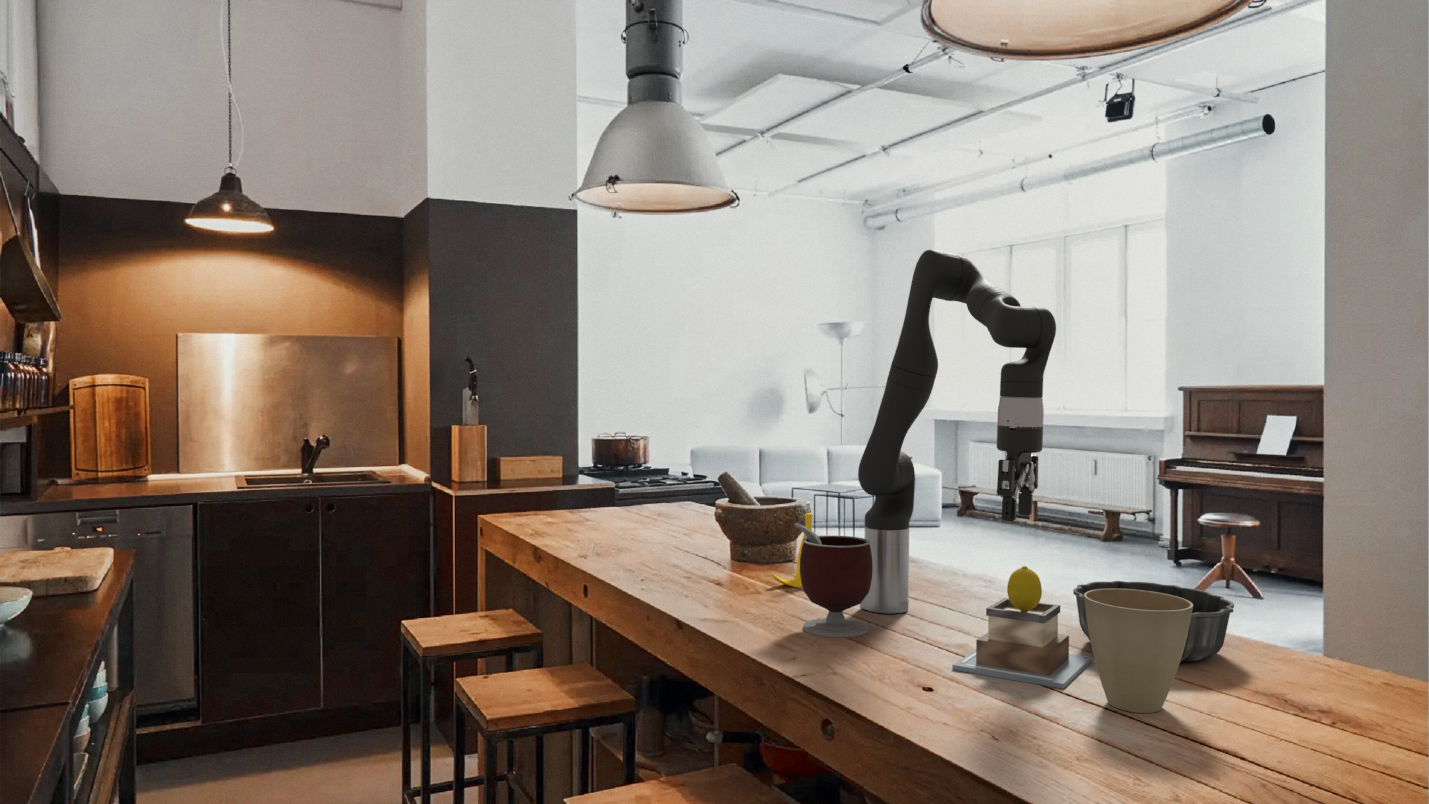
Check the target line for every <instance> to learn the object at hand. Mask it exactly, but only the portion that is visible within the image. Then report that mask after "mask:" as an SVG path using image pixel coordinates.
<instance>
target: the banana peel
mask: <svg viewBox="0 0 1429 804" xmlns="http://www.w3.org/2000/svg"><path fill="white" fill-rule="evenodd" d="M804 518H805V519H804V520H805V527H806V528H808V529H810V530H811V531H813V527H812V524H813V523H812V522H813V521H812V520H813V513H811V512H810V513H809V512H807V513H805V514H804ZM805 538H807V537H806V535H805V534H804V533H803V536H802V540H801V543H800V545H799V550H798V554H797V562H796V563H797V564H796V573H795V576H794V578H793V579H785V578H781V577H779V576H778V575H776V574H774V573H771V575H770V576H771V577H772V578H773V579H774V581H776V582H778V583H780V584H782V585H786V586H790V587H793V588H803V587H802V583H801V576H800V557H801V550H802V546H803V539H805Z"/></svg>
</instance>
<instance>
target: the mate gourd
mask: <svg viewBox="0 0 1429 804" xmlns="http://www.w3.org/2000/svg"><path fill="white" fill-rule="evenodd" d="M793 526H794V527H795V528H797V529H799V530H800V531H801V532H802V533H803V535H804V534H805V535H806V537H807V538H805V539H803V538H802V539H803V546H802V550H801V557H800V576H801V583H802V587H801V588H802V590H803V592H804V594H805V595H806V597H807V598H808V599H809V601H810V602H811V603H812V604H814V605H817V606H819V607H821V608H822V609H825V610H827V611H828V613H827V615H826V617H823V618H815V619H811V620H807V621H805V622H804V623H803V630H804V632H807V633H809V634H811V635H816V636H819V637H825V638H827V637H828V638H852V637H858V636H860V637H861V636H862V635H865V634H867V633H868V632H869V631H868V629H869V627H868V625H867V624H866V623H864V622H861V621H859V620H854V619H848V618H846V617H845V615H844V613H843V611H846V610H848V609H851V608H854V607H856V606H858V605H859V606H860V603H861V602H862V601H863V600H864V598H865V597H866V596H867V594H868V593H869V590H870V586H871V581H872V573H873V561H872V553H871V548H870V541H869V540H867V539H865V538H862V537H859V536H852V535H851V536H850V535H849V536H848V535H817V534H816V532H814V531H813V530H812V531H811V530H810V529H808V528H806V526H805V525H801V524H800V523H798V522H795V523H794V525H793Z"/></svg>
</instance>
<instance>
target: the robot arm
mask: <svg viewBox="0 0 1429 804" xmlns="http://www.w3.org/2000/svg"><path fill="white" fill-rule="evenodd" d="M907 298H908V299H907V304H906V309H905V314H904V319H903V324H902V328H901V332H900V335H899V338H898V341H897V346H896V349H895V353H894V355H893V359H892V362H891V364H890V368H889V371H888V375H887V379H886V383H885V388H884V391H883V395H882V399H881V401H880V405H879V409H878V411H877V415H876V419H875V423H874V426H873V428H872V431H871V434H870V436H869V438H868V441H867V443H866V446H865V448H864V451H863V453H862V456H861V459H860V461H859V466H858V472H857V478H858V482H859V485H860V486H861V489H862V490H863V491H864V492H865V493H866V494H867V495H870V496H873V497H874V503H873V504H872V506H871V507H870V508H869V510H868V511H866V513H865V514H864V539H867V540H869V541H870V548H871V553H872V561H873V573H872V581H871V586H870V590H869V593H868V594H867V596H866V597H865V598H864V600H863V601H862V602H861V603H860V604H859V608H860V609H862V610H866V611H869V612H872V613H878V614H901V613H906V612H908V611H909V602H910V601H909V599H910V598H909V594H910V593H909V592H910V591H909V590H910V589H909V588H910V585H909V583H910V579H909V577H910V520H911V518H912V516H913V512H914V505H915V504H914V502H915V490H916V489H915V488H916V486H915V485H916V473H915V468H914V464H913V461H912V459H911V458H910V456H909V455H908V454H907V453H905V452H904V451H902V446H903V444H904V440H905V439H906V437H907V436H906V435H907V434H908V432H909V431H910V429H911V427H912V425H913V424H914V422H915V421H916V420H917V418H918V417H919V415H920V414H921V412H922V411H923V410H924V408H925V407H926V404H927V402H928V401H929V399H930V396H931V394H932V391H933V388H934V384H935V381H936V377H937V374H938V369H939V361H938V355H937V350H936V348H935V344H934V341H933V338H932V334H931V329H930V311H931V305H932V301H933V298H934V299H938V300H942V301H947V302H959V303H963V304H965V305H966V308H967V311H968V312H969V314H970V315H971V317H972V318H973V319H975V320H976V321H977V322H978V323H980V324H982V325H983V326H984V327H986V329H987V331H988V333H989V335H990V336H991V339H992V340H993V342H995V344H997V345H998V346H1002V347H1004V348H1011V349H1013V348H1014V349H1015V348H1016V349H1025V351H1024V353H1023V355H1022V357H1021V358H1020V359H1019V360H1016V361H1010V362H1007V363H1005V364H1003V365H1002V367H1001V369H1000V382H999V383H1000V384H999V388H1000V389H999V401H998V407H997V428H996V431H997V432H996V449H997V450H998V451H1000V452H1006V457H1005V459H999V460H998V463H997V464H998V466H997V467H998V468H997V484H996V485H997V486H996V494H997V496H1000V499H1001V500H1002V501H1001V503H1002V504H1001V519H1002V521H1006V522H1014V521H1016V519H1017V513H1018V514H1019V515H1022V516H1031V515H1033V514H1032V513H1033V494H1034V493H1035V490H1037V489H1038V488H1039V456H1038V455H1036V454H1037V453H1041V452H1042V451H1043V444H1044V441H1043V440H1044V436H1043V435H1044V414H1045V413H1044V412H1045V411H1044V403H1043V402H1044V400H1043V399H1044V398H1043V396H1044V395H1043V394H1044V393H1043V391H1044V374H1045V371H1046V367H1047V363H1048V360H1049V356H1050V353H1051V350H1052V348H1053V344H1054V341H1055V338H1056V333H1057V323H1056V319H1055V317H1054V315H1053V313H1052V312H1051V311H1050V310H1049V309H1048V308H1045V307H1041V306H1039V307H1038V306H1021V303H1020V302H1019V300H1018V299H1017V298H1016V297H1014V296H1013V295H1012V294H1010V293H1008V292H1007V291H1005V290H1004V289H1002V288H1000V287H998V286H997V285H995V284H993V283H992V282H991V281H990V280H989V279H988V278H987V277H986V276H985V275H984V274H983V273H982V272H981V270H979V268H978V267H977V266H976V265H975V264H974V263H973V262H972V261H971V259H968V258H967V257H964V256H961V255H959V254H954V253H950V252H946V251H942V250H937V249H932V248H931V249H926V250H924V251H923V253H921V255H920V256H919V258H918V260H917V262H916V265H915V268H914V271H913V275H912V279H911V285H910V289H909V294H908V297H907ZM1032 453H1033V454H1032ZM1034 453H1035V454H1034ZM1017 498H1018V502H1017ZM1017 503H1018V504H1017ZM1017 505H1018V506H1017Z"/></svg>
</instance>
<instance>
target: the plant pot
mask: <svg viewBox="0 0 1429 804" xmlns="http://www.w3.org/2000/svg"><path fill="white" fill-rule="evenodd" d="M1084 600H1085V608H1086V616H1087V624H1088V630H1089V636H1090V640H1089V642H1090V641H1091V642H1090V644H1091V649H1092V654H1093V657H1094V662H1095V666H1096V669H1097V673H1098V676H1099V680H1100V682H1101V685H1102V689H1103V691H1104V695H1105V698H1106V701H1107V702H1108V704H1109V705H1110V706H1112V707H1114V708H1116V709H1118V710H1122V711H1126V712H1131V713H1140V714H1153V713H1154V714H1155V713H1157V712H1159V711H1161V710H1162V708H1163V706H1164V704H1165V702H1166V701H1167V697H1168V695H1169V692H1170V691H1171V688H1172V686H1173V683H1174V681H1175V677H1176V675H1177V672H1178V670H1179V666H1180V663H1181V662H1182V661H1181V657H1182V654H1183V651H1184V647H1185V643H1186V640H1187V635H1188V630H1189V625H1190V620H1191V615H1192V609H1193V604H1192V603H1191V602H1190V601H1188V600H1186V599H1183V598H1180V597H1177V596H1173V595H1168V594H1164V593H1158V592H1151V591H1144V590H1134V589H1096V590H1091V591H1088V592H1086V593H1085V594H1084ZM1180 661H1181V662H1180Z"/></svg>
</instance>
